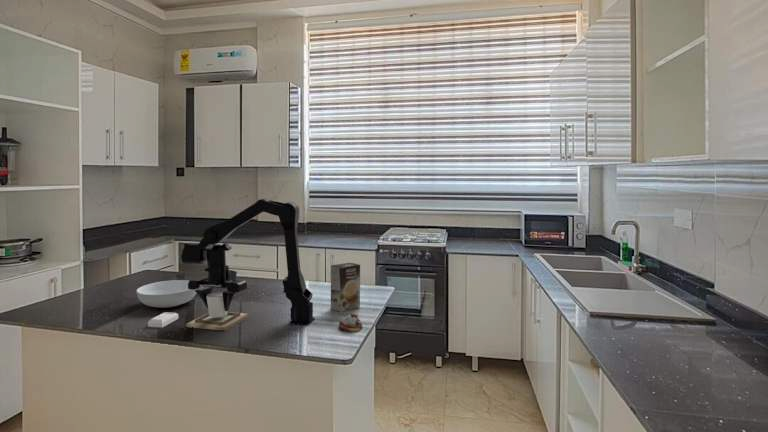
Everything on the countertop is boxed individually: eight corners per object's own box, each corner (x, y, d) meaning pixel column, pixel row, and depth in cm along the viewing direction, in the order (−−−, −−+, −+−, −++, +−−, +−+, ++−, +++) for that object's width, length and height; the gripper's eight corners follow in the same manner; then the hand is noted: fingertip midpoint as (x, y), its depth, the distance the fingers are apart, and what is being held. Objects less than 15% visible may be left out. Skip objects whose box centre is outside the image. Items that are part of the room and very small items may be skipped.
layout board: (248, 316, 152) (248, 311, 152) (224, 330, 139) (224, 325, 138) (212, 313, 156) (212, 308, 155) (186, 326, 142) (185, 321, 142)
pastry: (363, 332, 138) (363, 316, 138) (339, 333, 137) (339, 317, 137) (360, 323, 146) (360, 308, 146) (337, 324, 145) (337, 309, 144)
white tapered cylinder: (222, 310, 152) (221, 290, 151) (233, 314, 147) (232, 293, 147) (203, 315, 146) (202, 294, 146) (214, 319, 142) (213, 298, 141)
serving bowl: (128, 304, 166) (128, 286, 166) (185, 294, 181) (184, 277, 181) (149, 317, 152) (148, 297, 151) (208, 304, 167) (208, 286, 167)
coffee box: (341, 312, 157) (341, 268, 156) (330, 308, 162) (329, 265, 160) (360, 307, 164) (360, 264, 162) (349, 303, 168) (349, 261, 167)
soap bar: (148, 327, 142) (147, 319, 142) (165, 318, 151) (164, 311, 151) (162, 328, 142) (161, 320, 141) (178, 319, 150) (178, 311, 150)
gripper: (254, 260, 151) (256, 305, 152) (207, 258, 155) (208, 301, 157) (236, 267, 140) (238, 315, 142) (185, 264, 145) (187, 310, 146)
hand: (218, 310), depth 147 cm, fingers closed on white tapered cylinder, 6 cm apart
